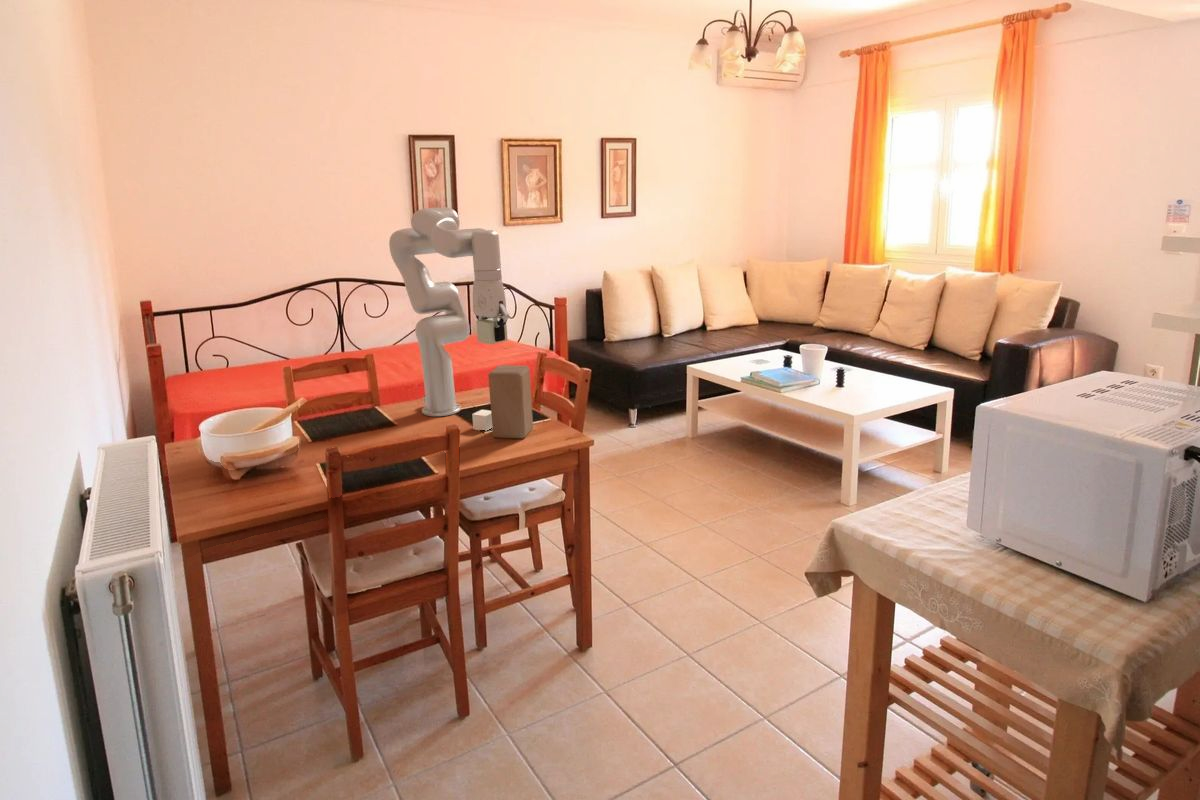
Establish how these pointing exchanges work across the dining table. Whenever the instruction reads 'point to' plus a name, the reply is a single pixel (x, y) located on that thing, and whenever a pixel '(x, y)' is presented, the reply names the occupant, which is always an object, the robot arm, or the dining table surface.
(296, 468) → the dining table surface
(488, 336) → the sage cube
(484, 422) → the cream cube
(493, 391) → the block
